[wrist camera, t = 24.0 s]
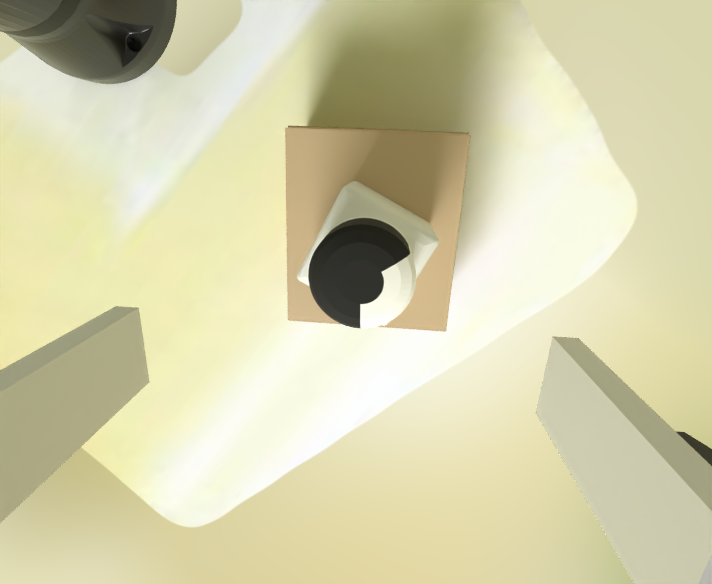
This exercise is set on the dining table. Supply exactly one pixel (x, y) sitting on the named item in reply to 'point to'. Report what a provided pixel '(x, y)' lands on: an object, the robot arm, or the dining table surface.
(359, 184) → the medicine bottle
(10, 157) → the dining table surface
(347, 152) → the lid
